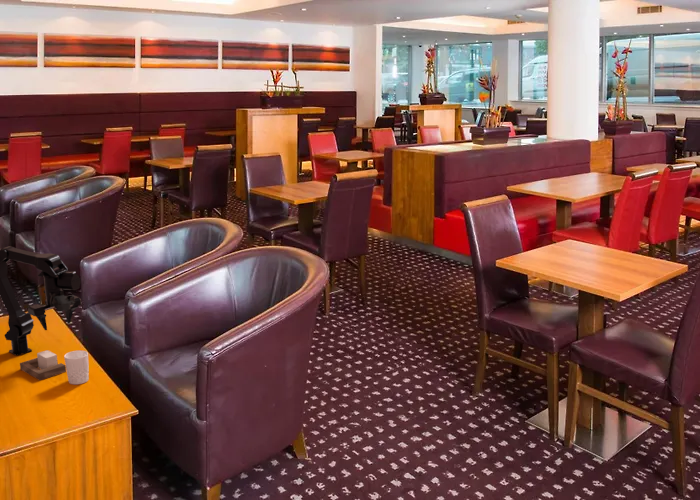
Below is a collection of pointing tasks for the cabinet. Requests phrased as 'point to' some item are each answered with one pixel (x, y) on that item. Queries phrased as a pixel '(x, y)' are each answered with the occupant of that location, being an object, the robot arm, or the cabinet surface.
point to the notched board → (41, 374)
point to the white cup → (77, 366)
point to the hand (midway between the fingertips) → (57, 326)
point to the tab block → (46, 359)
